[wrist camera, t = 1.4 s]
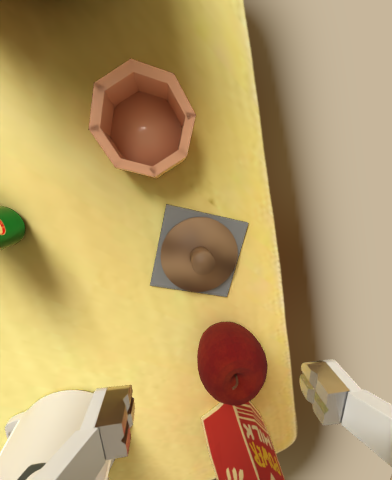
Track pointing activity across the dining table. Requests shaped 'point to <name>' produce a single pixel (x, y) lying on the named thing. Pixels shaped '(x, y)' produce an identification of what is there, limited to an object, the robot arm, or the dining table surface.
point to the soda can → (10, 227)
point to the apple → (231, 363)
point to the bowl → (141, 118)
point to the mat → (176, 216)
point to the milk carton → (240, 444)
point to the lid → (198, 254)
